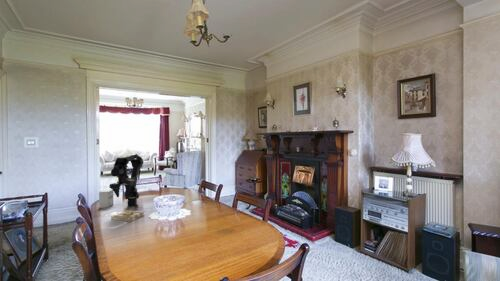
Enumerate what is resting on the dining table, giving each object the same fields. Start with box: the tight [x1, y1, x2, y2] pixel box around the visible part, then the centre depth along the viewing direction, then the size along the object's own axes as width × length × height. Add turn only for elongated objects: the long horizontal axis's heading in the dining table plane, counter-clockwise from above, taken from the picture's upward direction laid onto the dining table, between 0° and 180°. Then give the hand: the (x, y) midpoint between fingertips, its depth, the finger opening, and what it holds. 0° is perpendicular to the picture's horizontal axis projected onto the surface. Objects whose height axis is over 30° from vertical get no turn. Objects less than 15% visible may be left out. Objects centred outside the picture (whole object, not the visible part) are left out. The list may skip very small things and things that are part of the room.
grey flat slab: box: [104, 211, 122, 217], centre depth 171 cm, size 9×7×1 cm
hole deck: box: [110, 210, 145, 223], centre depth 166 cm, size 14×14×3 cm
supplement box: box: [98, 189, 114, 209], centre depth 194 cm, size 7×7×13 cm
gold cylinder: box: [124, 209, 132, 216], centre depth 166 cm, size 4×4×5 cm
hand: (122, 195), depth 179 cm, fingers open, 9 cm apart
